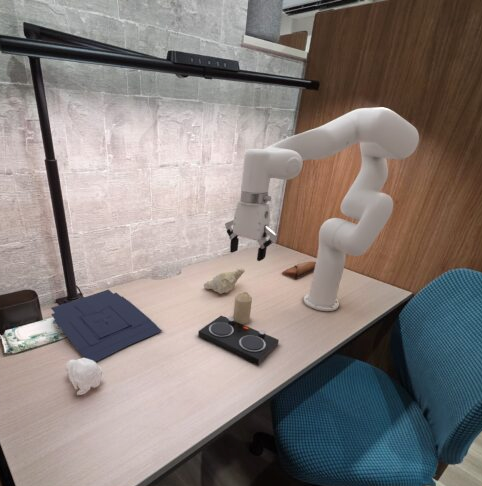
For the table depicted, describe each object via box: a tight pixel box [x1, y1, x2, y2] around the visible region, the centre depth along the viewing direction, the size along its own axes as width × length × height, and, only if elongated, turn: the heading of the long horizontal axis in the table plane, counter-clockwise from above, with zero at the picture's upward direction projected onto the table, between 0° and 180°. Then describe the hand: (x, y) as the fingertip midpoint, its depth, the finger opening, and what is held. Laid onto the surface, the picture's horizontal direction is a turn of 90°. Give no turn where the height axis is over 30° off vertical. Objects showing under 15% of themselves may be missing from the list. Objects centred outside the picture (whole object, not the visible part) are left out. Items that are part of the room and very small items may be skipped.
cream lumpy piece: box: [203, 268, 246, 295], centre depth 124 cm, size 15×7×15 cm
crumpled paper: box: [65, 357, 103, 396], centre depth 76 cm, size 6×8×12 cm
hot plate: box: [197, 315, 279, 366], centre depth 95 cm, size 12×21×3 cm, turn 52°
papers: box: [50, 288, 163, 363], centre depth 100 cm, size 24×30×4 cm
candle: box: [232, 291, 253, 325], centre depth 104 cm, size 6×6×10 cm
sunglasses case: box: [281, 261, 316, 280], centre depth 143 cm, size 18×7×7 cm, turn 132°
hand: (246, 255), depth 96 cm, fingers open, 9 cm apart
